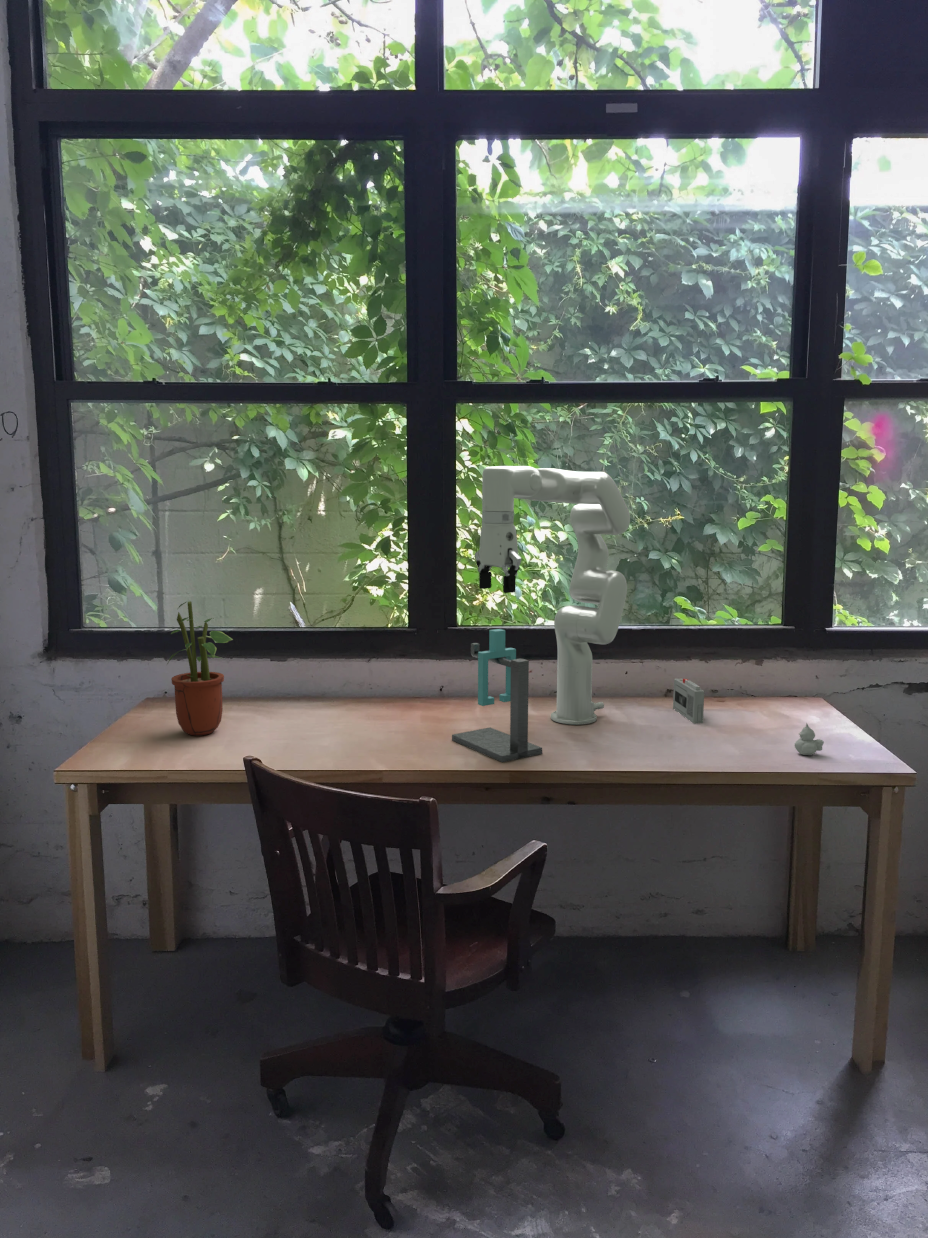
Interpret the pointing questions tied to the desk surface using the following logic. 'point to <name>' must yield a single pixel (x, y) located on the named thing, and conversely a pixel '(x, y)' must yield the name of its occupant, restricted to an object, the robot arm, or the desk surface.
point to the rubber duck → (808, 742)
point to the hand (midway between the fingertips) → (497, 590)
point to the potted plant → (199, 683)
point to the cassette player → (688, 700)
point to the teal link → (495, 651)
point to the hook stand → (517, 742)
